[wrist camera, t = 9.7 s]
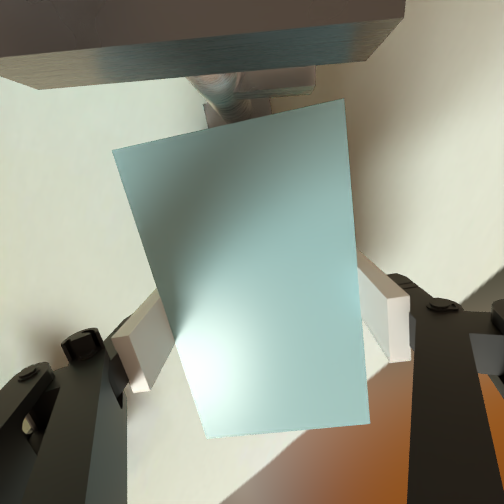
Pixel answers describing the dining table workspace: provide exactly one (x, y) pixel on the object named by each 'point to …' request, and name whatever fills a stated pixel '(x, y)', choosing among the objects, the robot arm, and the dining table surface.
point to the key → (191, 43)
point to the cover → (257, 267)
